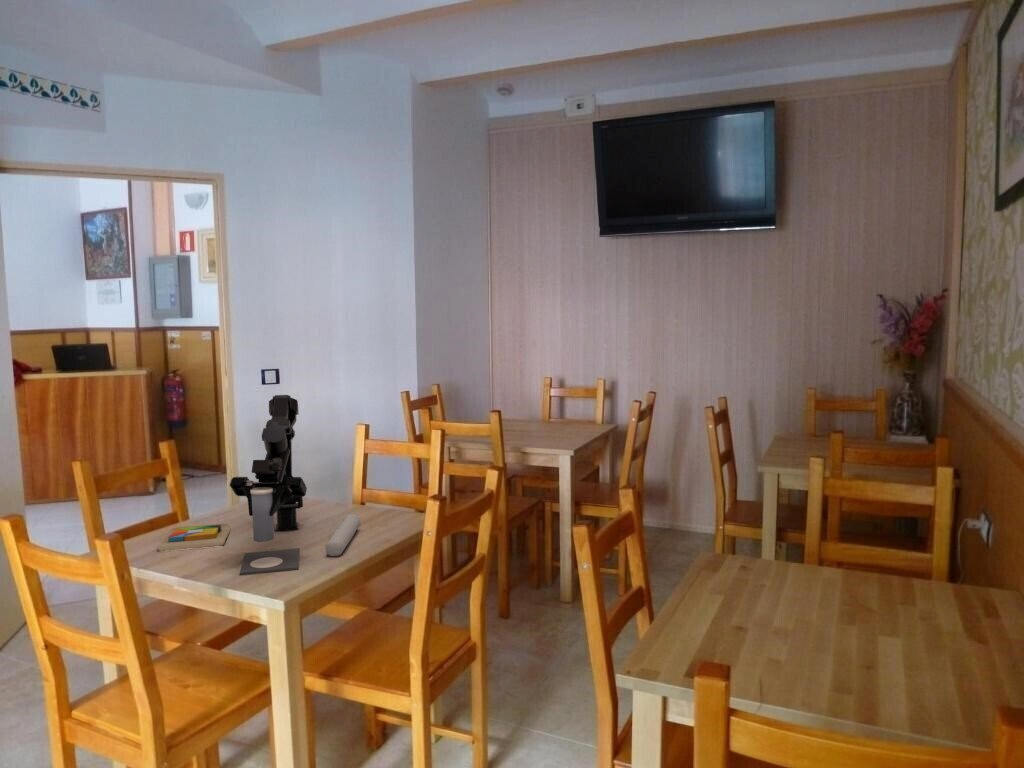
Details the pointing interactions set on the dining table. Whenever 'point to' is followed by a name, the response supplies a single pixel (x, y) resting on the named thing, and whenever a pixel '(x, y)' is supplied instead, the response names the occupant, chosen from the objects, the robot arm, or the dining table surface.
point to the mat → (270, 561)
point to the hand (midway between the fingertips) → (260, 515)
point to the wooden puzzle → (195, 537)
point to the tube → (343, 535)
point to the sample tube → (262, 514)
